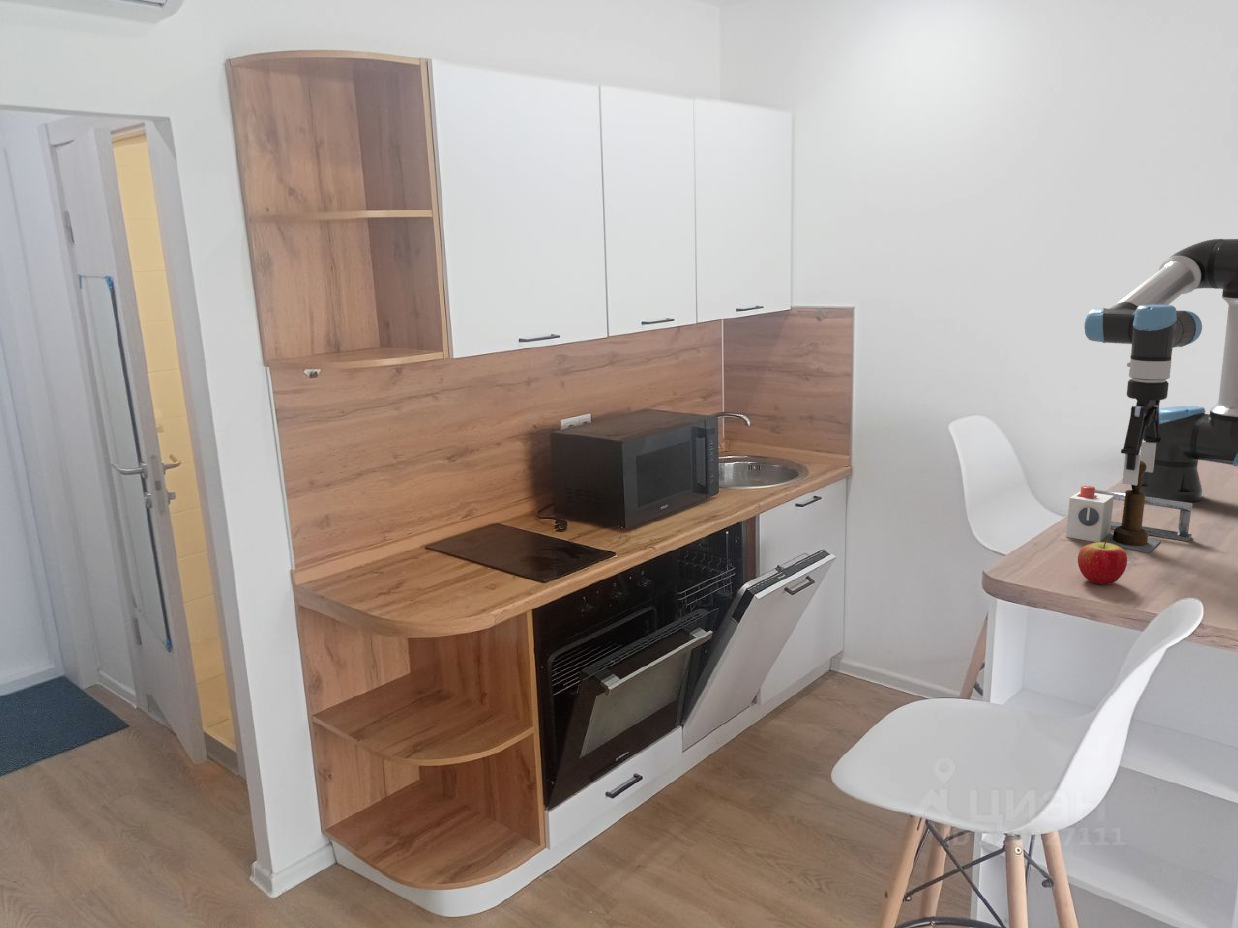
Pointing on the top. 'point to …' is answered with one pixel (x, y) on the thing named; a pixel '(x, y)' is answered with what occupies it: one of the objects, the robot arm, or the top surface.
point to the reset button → (1087, 492)
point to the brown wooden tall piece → (1133, 515)
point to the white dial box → (1089, 517)
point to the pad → (1143, 548)
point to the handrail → (1182, 506)
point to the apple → (1102, 562)
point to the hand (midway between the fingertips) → (1138, 477)
